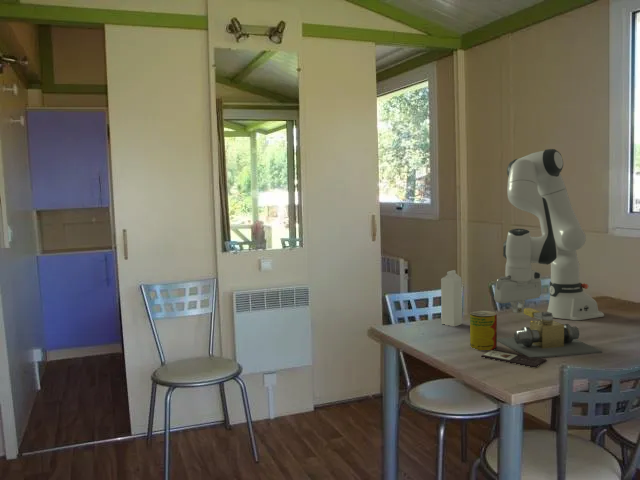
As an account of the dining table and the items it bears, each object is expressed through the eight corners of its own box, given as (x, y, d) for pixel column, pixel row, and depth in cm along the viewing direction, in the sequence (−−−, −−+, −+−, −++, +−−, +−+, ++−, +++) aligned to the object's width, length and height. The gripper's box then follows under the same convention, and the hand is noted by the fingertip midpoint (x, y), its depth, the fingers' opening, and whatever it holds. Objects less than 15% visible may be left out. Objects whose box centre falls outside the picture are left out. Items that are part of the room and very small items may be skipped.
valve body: (568, 338, 207) (569, 318, 206) (582, 345, 199) (582, 323, 198) (511, 343, 203) (511, 322, 202) (523, 350, 195) (523, 328, 194)
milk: (462, 324, 235) (462, 270, 233) (453, 326, 231) (453, 272, 229) (449, 321, 239) (449, 268, 237) (441, 324, 235) (440, 270, 233)
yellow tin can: (491, 352, 196) (491, 317, 195) (466, 348, 202) (465, 314, 200) (500, 345, 203) (500, 312, 202) (476, 342, 209) (476, 309, 207)
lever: (555, 322, 198) (555, 313, 198) (544, 323, 198) (544, 314, 197) (532, 313, 213) (532, 304, 213) (522, 313, 213) (522, 305, 212)
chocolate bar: (535, 366, 179) (481, 355, 191) (535, 369, 179) (481, 358, 191) (546, 359, 185) (493, 349, 197) (546, 362, 185) (493, 352, 197)
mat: (561, 334, 214) (561, 333, 214) (601, 352, 192) (601, 350, 192) (496, 340, 210) (496, 338, 210) (529, 358, 188) (529, 357, 187)
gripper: (503, 278, 199) (503, 318, 201) (544, 273, 209) (544, 310, 210) (490, 276, 205) (489, 314, 206) (530, 270, 215) (530, 307, 216)
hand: (517, 312), depth 208 cm, fingers closed
